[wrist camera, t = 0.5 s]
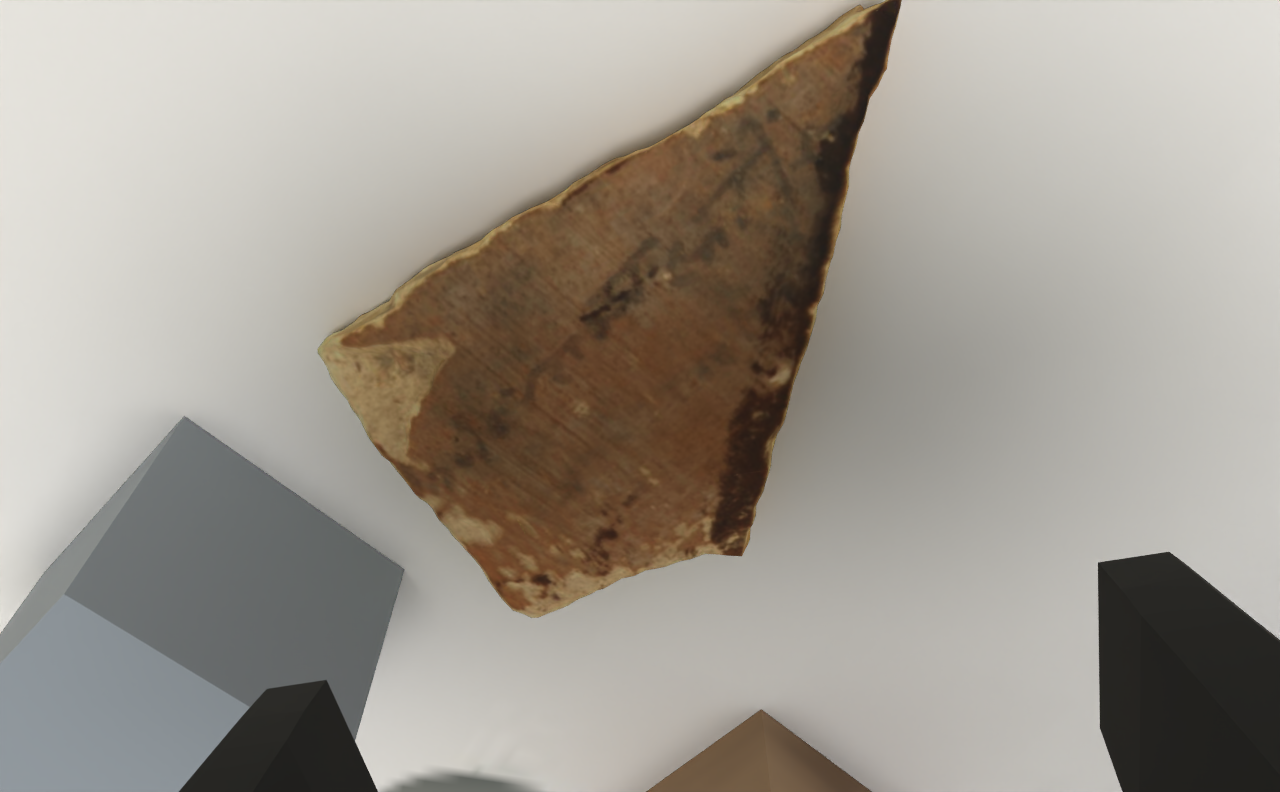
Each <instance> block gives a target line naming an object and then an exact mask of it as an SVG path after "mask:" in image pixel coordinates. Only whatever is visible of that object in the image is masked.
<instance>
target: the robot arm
mask: <svg viewBox="0 0 1280 792" xmlns="http://www.w3.org/2000/svg"><path fill="white" fill-rule="evenodd" d="M1098 603H1099V684H1100V729H1101V732H1102V735H1103V738H1104V740H1105V743H1106V746H1107V749H1108V752H1109V755H1110V757H1111V760H1112V763H1113V766H1114V769H1115V772H1116V774H1117V777H1118V780H1119V783H1120V786H1121V788H1122V791H1123V792H1280V640H1279V639H1278V638H1277V637H1275V636H1274V635H1273V634H1272V633H1270V632H1269V631H1268V630H1267V629H1265V628H1264V627H1263V626H1262V625H1260V624H1259V623H1258V622H1256V621H1255V620H1254V619H1253V618H1252V617H1250V616H1249V615H1248V614H1247V613H1245V612H1244V611H1243V610H1242V609H1240V608H1239V607H1238V606H1237V605H1235V604H1234V603H1233V602H1232V601H1230V600H1229V599H1228V598H1227V597H1226V596H1224V595H1223V594H1222V593H1221V592H1219V591H1218V590H1217V589H1216V588H1214V587H1213V586H1212V585H1211V584H1210V583H1208V582H1207V581H1206V580H1205V579H1203V578H1202V577H1201V576H1200V575H1198V574H1197V573H1196V572H1195V571H1194V570H1192V569H1191V568H1190V567H1189V566H1187V565H1186V564H1185V563H1184V562H1182V561H1181V560H1180V559H1178V558H1177V557H1175V556H1174V555H1173V554H1171V553H1170V552H1165V553H1158V554H1151V555H1145V556H1138V557H1132V558H1125V559H1119V560H1112V561H1105V562H1099V563H1098ZM179 792H378V791H377V789H376V787H375V784H374V782H373V780H372V778H371V776H370V773H369V771H368V769H367V767H366V765H365V763H364V760H363V758H362V756H361V754H360V752H359V749H358V747H357V745H356V743H355V741H354V738H353V736H352V734H351V732H350V730H349V728H348V725H347V723H346V721H345V719H344V717H343V714H342V712H341V710H340V708H339V706H338V704H337V701H336V699H335V697H334V695H333V693H332V690H331V688H330V686H329V684H328V682H327V680H322V681H315V682H308V683H302V684H295V685H289V686H282V687H276V688H269V689H266V690H265V691H264V692H263V694H262V695H261V696H260V697H259V698H258V699H257V700H256V701H255V702H254V703H253V705H252V706H251V707H250V708H249V709H248V710H247V711H246V712H245V714H244V715H243V716H242V717H241V718H240V719H239V721H238V722H237V723H236V724H235V725H234V726H233V728H232V729H231V730H230V731H229V732H228V733H227V735H226V736H225V737H224V738H223V739H222V741H221V742H220V743H219V744H218V745H217V747H216V748H215V749H214V750H213V751H212V752H211V754H210V755H209V756H208V757H207V758H206V760H205V761H204V762H203V763H202V764H201V766H200V767H199V768H198V769H197V770H196V772H195V773H194V774H193V775H192V776H191V778H190V779H189V780H188V781H187V782H186V784H185V785H184V786H183V787H182V788H181V790H180V791H179Z"/></svg>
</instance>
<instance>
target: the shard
mask: <svg viewBox="0 0 1280 792" xmlns="http://www.w3.org/2000/svg"><path fill="white" fill-rule="evenodd" d="M900 6H901V0H886V1H884V2H882V3H880V4H876V5H874V6H871V7H869V8H867V9H865V10H863V8H862V6H861V5H858V6H856V7H855V8H853V9H852V10H850V11H848V12H847V13H845V14H844V15H842V16H841V17H839V18H838V19H837V20H836V21H835V22H833V23H832V24H831V25H830V26H829V27H828V28H827V29H825V30H824V31H822V32H821V33H820V34H818V35H816V36H815V37H813V38H811V39H809V40H807V41H806V42H805V43H803V44H802V45H801V46H799V47H798V48H797V49H796V50H794V51H792V52H790V53H788V54H786V55H784V56H782V57H781V58H779V59H778V60H777V61H776V62H774V63H773V64H772V65H771V66H769V67H768V68H767V69H765V70H763V71H762V72H760V73H759V74H757V75H756V76H755V77H754V78H753V79H752V80H750V81H749V82H748V83H747V84H746V85H745V86H743V87H742V88H741V89H740V90H739V91H737V92H736V93H735V94H734V95H733V96H731V97H729V98H727V99H725V100H723V101H722V102H721V103H720V104H718V105H717V106H716V107H714V108H713V109H712V110H710V111H708V112H706V113H705V114H703V115H702V116H701V117H700V118H699V119H697V120H696V121H694V122H693V123H691V124H690V125H688V126H686V127H684V128H682V129H681V130H679V131H677V132H675V133H673V134H672V135H670V136H668V137H667V138H665V139H663V140H661V141H660V142H658V143H656V144H654V145H652V146H650V147H648V148H644V149H641V150H637V151H635V152H633V153H631V154H629V155H627V156H624V157H619V158H615V159H613V160H611V161H609V162H607V163H605V164H603V165H602V166H600V167H599V168H597V169H596V170H594V171H593V172H591V173H590V174H589V175H587V176H585V177H583V178H581V179H579V180H578V181H576V182H574V183H573V184H572V185H570V186H569V187H568V188H567V189H566V190H565V191H563V192H561V193H560V194H558V195H557V196H555V197H554V198H552V199H551V200H549V201H547V202H545V203H542V204H540V205H537V206H535V207H533V208H530V209H528V210H526V211H525V212H523V213H521V214H519V215H516V216H514V217H512V218H511V219H509V220H508V221H507V222H505V223H504V224H502V225H501V226H499V227H497V228H495V229H493V230H492V231H490V232H489V233H488V234H487V235H486V236H485V237H484V238H483V239H482V240H480V241H478V242H476V243H475V244H473V245H471V246H469V247H467V248H465V249H462V250H460V251H457V252H455V253H453V254H452V255H450V256H449V257H446V258H444V259H442V260H440V261H438V262H436V263H433V264H431V265H429V266H427V267H426V268H424V269H423V270H422V271H421V272H419V273H418V274H417V275H416V276H414V277H413V278H412V279H411V280H409V281H408V282H406V283H405V284H403V285H402V286H400V287H399V288H398V289H396V291H395V292H394V294H393V296H392V297H391V299H390V300H389V302H386V303H384V304H382V305H380V306H379V307H377V308H375V309H374V310H372V311H370V312H368V313H366V314H363V315H361V316H359V317H358V319H357V320H356V321H355V322H354V323H352V324H351V325H349V326H348V327H346V328H345V329H344V330H341V331H338V332H335V333H333V334H332V335H330V336H329V337H327V338H326V339H325V340H324V342H323V343H322V344H321V345H320V347H319V348H318V354H319V355H320V357H321V358H322V360H323V361H324V363H325V365H326V366H327V369H328V371H329V374H330V376H331V379H332V380H333V382H334V383H335V385H336V386H337V387H338V389H339V390H340V392H341V393H342V394H343V395H344V397H345V398H346V399H347V400H348V402H349V404H350V406H351V408H352V410H353V411H354V412H355V414H356V415H357V416H358V418H359V419H360V421H361V423H362V425H363V427H364V429H365V431H366V433H367V435H368V437H369V439H370V440H371V441H372V443H373V444H374V445H375V447H376V448H377V449H378V451H379V452H380V454H381V455H382V456H383V457H385V458H386V459H387V460H389V461H390V463H391V464H392V465H393V466H394V468H395V469H396V470H397V472H398V473H399V474H400V475H401V476H402V477H403V478H404V480H405V481H406V482H407V484H408V485H409V486H410V488H411V489H412V490H413V492H414V493H415V494H416V495H417V496H418V497H419V498H420V499H422V500H423V501H425V502H426V503H428V504H429V505H430V506H431V508H432V509H433V511H434V512H435V514H436V516H437V517H438V519H439V520H440V521H441V522H442V523H443V524H444V525H445V526H446V527H447V528H448V530H449V531H450V533H451V534H452V535H453V537H454V538H455V539H456V540H457V541H458V542H459V543H460V544H461V545H462V546H463V547H464V548H465V550H466V551H467V552H468V553H469V554H470V555H471V556H472V557H473V558H474V559H475V561H476V562H477V563H478V564H479V566H480V567H481V568H482V570H483V572H484V574H485V575H486V577H487V579H488V581H489V582H490V583H491V585H492V586H493V587H494V589H495V590H496V592H497V593H498V594H499V596H500V597H501V598H502V599H503V600H504V602H505V603H506V604H507V605H508V606H509V607H510V608H511V609H512V610H513V611H516V612H519V613H522V614H525V615H527V616H529V617H531V618H538V617H541V616H543V615H545V614H547V613H550V612H553V611H556V610H558V609H560V608H563V607H565V606H568V605H569V604H571V603H573V602H574V601H576V600H578V599H580V598H582V597H585V596H587V595H590V594H592V593H593V592H595V591H596V590H600V589H603V588H605V587H607V586H609V585H611V584H612V583H614V582H616V581H618V580H620V579H621V578H625V577H631V576H635V575H637V574H639V573H641V572H643V571H645V570H650V569H656V568H661V567H665V566H668V565H671V564H673V563H676V562H679V561H683V560H688V559H692V558H695V557H698V556H700V555H703V554H720V555H729V556H742V555H743V553H744V551H745V549H746V547H747V544H748V542H749V540H750V527H751V526H752V524H753V521H754V518H755V515H756V504H757V502H758V500H759V498H760V497H761V495H762V493H763V490H764V486H765V482H766V479H767V476H768V473H769V470H770V468H771V457H772V450H773V447H774V443H775V439H776V436H777V433H778V432H779V430H780V428H781V427H782V425H783V423H784V420H785V417H786V413H787V409H788V405H789V400H790V396H791V392H792V388H793V384H794V380H795V378H796V375H797V373H798V370H799V367H800V364H801V361H802V359H803V356H804V354H805V352H806V349H807V346H808V343H809V339H810V336H811V333H812V329H813V326H814V323H815V319H816V314H817V306H818V304H819V301H820V299H821V297H822V295H823V293H824V288H825V281H826V277H827V273H828V269H829V265H830V262H831V259H832V257H833V254H834V248H835V243H836V240H837V237H838V234H839V231H840V228H841V216H842V211H843V207H844V203H845V199H846V195H847V191H848V187H849V166H850V162H851V159H852V156H853V153H854V151H855V148H856V144H857V139H858V134H859V131H860V129H861V126H862V124H863V122H864V119H865V115H866V111H867V107H868V103H869V99H870V97H871V96H872V94H873V93H874V91H875V90H876V88H877V87H878V85H879V83H880V80H881V78H882V76H883V74H884V72H885V71H886V69H887V62H888V55H889V50H890V45H891V40H892V36H893V33H894V30H895V27H896V23H897V19H898V14H899V9H900Z"/></svg>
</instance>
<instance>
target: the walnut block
mask: <svg viewBox="0 0 1280 792" xmlns="http://www.w3.org/2000/svg"><path fill="white" fill-rule="evenodd" d="M646 792H871V791H870V790H869V789H867V788H866V787H865V786H863V785H862V784H861V783H859V782H858V781H857V780H855V779H854V778H853V777H851V776H850V775H849V774H847V773H846V772H845V771H843V770H842V769H841V768H839V767H838V766H837V765H835V764H834V763H832V762H831V761H830V760H828V759H827V758H826V757H824V756H823V755H822V754H820V753H819V752H818V751H816V750H815V749H814V748H812V747H811V746H810V745H808V744H807V743H806V742H804V741H803V740H802V739H800V738H799V737H798V736H796V735H795V734H794V733H792V732H791V731H790V730H788V729H787V728H786V727H784V726H783V725H782V724H780V723H779V722H778V721H776V720H775V719H773V718H772V717H771V716H769V715H768V714H767V713H765V712H764V711H763V710H760V711H758V712H757V713H756V714H754V715H753V716H751V717H750V718H749V719H747V720H746V721H744V722H743V723H742V724H740V725H739V726H737V727H736V728H735V729H733V730H732V731H730V732H729V733H728V734H726V735H725V736H723V737H722V738H721V739H719V740H718V741H716V742H715V743H714V744H712V745H711V746H709V747H708V748H707V749H705V750H704V751H702V752H701V753H700V754H698V755H697V756H695V757H694V758H693V759H691V760H690V761H688V762H687V763H686V764H684V765H683V766H681V767H680V768H679V769H677V770H676V771H674V772H673V773H672V774H670V775H669V776H667V777H666V778H665V779H663V780H662V781H660V782H659V783H658V784H656V785H655V786H653V787H652V788H651V789H649V790H648V791H646Z"/></svg>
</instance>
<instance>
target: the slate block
mask: <svg viewBox="0 0 1280 792" xmlns="http://www.w3.org/2000/svg"><path fill="white" fill-rule="evenodd" d="M403 572H404V569H403V568H401V567H400V566H398V565H397V564H396V563H394V562H393V561H391V560H390V559H388V558H387V557H386V556H384V555H383V554H381V553H380V552H378V551H377V550H376V549H374V548H373V547H371V546H370V545H368V544H367V543H366V542H364V541H363V540H361V539H360V538H358V537H357V536H355V535H354V534H353V533H351V532H350V531H348V530H347V529H345V528H344V527H343V526H341V525H340V524H338V523H337V522H335V521H334V520H333V519H331V518H330V517H328V516H327V515H325V514H324V513H323V512H321V511H320V510H318V509H317V508H315V507H314V506H312V505H311V504H310V503H308V502H307V501H305V500H304V499H302V498H301V497H300V496H298V495H297V494H295V493H294V492H292V491H291V490H290V489H288V488H287V487H285V486H284V485H282V484H281V483H280V482H278V481H277V480H275V479H274V478H272V477H271V476H270V475H268V474H267V473H265V472H264V471H262V470H261V469H259V468H258V467H257V466H255V465H254V464H252V463H251V462H249V461H248V460H247V459H245V458H244V457H242V456H241V455H239V454H238V453H237V452H235V451H234V450H232V449H231V448H229V447H228V446H227V445H225V444H224V443H222V442H221V441H219V440H218V439H216V438H215V437H214V436H212V435H211V434H209V433H208V432H206V431H205V430H204V429H202V428H201V427H199V426H198V425H196V424H195V423H194V422H192V421H191V420H189V419H188V418H186V417H185V416H184V417H183V418H182V419H181V420H180V421H179V423H178V424H177V425H176V426H175V427H174V428H173V429H172V430H171V432H170V433H169V434H168V435H167V436H166V437H165V438H164V439H163V440H162V442H161V443H160V444H159V445H158V446H157V447H156V448H155V449H154V451H153V452H152V453H151V454H150V455H149V456H148V457H147V458H146V459H145V461H144V462H143V463H142V464H141V465H140V466H139V467H138V468H137V470H136V471H135V472H134V473H133V474H132V475H131V476H130V477H129V479H128V480H127V481H126V482H125V483H124V484H123V485H122V486H121V487H120V489H119V490H118V491H117V492H116V493H115V494H114V495H113V496H112V498H111V499H110V500H109V501H108V502H107V503H106V504H105V505H104V507H103V508H102V509H101V510H100V511H99V512H98V513H97V514H96V515H95V517H94V518H93V519H92V520H91V521H90V522H89V523H88V524H87V526H86V527H85V528H84V529H83V530H82V531H81V532H80V533H79V534H78V536H77V537H76V538H75V539H74V540H73V541H72V542H71V543H70V545H69V546H68V547H67V548H66V549H65V550H64V551H63V552H62V554H61V555H60V556H59V557H58V558H57V559H56V560H55V561H54V562H53V564H52V565H51V566H50V567H49V568H48V569H47V570H46V571H45V573H44V574H43V575H42V576H41V578H40V579H39V581H38V582H37V583H36V585H35V586H34V588H33V589H32V590H31V592H30V593H29V595H28V596H27V597H26V599H25V600H24V602H23V603H22V604H21V606H20V607H19V608H18V610H17V611H16V613H15V614H14V615H13V617H12V618H11V620H10V621H9V622H8V624H7V625H6V627H5V628H4V629H3V631H2V632H1V634H0V792H179V791H180V790H181V788H182V787H183V786H184V785H185V784H186V782H187V781H188V780H189V779H190V778H191V776H192V775H193V774H194V773H195V772H196V770H197V769H198V768H199V767H200V766H201V764H202V763H203V762H204V761H205V760H206V758H207V757H208V756H209V755H210V754H211V752H212V751H213V750H214V749H215V748H216V747H217V745H218V744H219V743H220V742H221V741H222V739H223V738H224V737H225V736H226V735H227V733H228V732H229V731H230V730H231V729H232V728H233V726H234V725H235V724H236V723H237V722H238V721H239V719H240V718H241V717H242V716H243V715H244V714H245V712H246V711H247V710H248V709H249V708H250V707H251V706H252V705H253V703H254V702H255V701H256V700H257V699H258V698H259V697H260V696H261V695H262V694H263V692H264V691H265V690H266V689H269V688H276V687H282V686H289V685H295V684H302V683H308V682H315V681H322V680H327V682H328V684H329V686H330V688H331V690H332V693H333V695H334V697H335V699H336V701H337V704H338V706H339V708H340V710H341V712H342V714H343V717H344V719H345V721H346V723H347V725H348V728H349V730H350V732H351V734H352V736H353V738H354V741H355V739H356V735H357V732H358V728H359V725H360V721H361V718H362V714H363V711H364V707H365V704H366V701H367V697H368V694H369V690H370V687H371V683H372V680H373V676H374V673H375V669H376V666H377V662H378V659H379V655H380V652H381V649H382V645H383V642H384V638H385V635H386V631H387V628H388V624H389V621H390V617H391V614H392V610H393V607H394V604H395V600H396V597H397V593H398V590H399V586H400V583H401V579H402V576H403Z"/></svg>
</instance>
